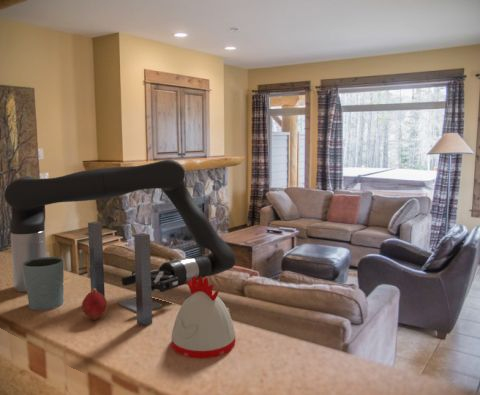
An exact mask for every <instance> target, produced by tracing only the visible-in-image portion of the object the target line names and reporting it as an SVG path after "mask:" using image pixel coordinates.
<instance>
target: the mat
mask: <svg viewBox="0 0 480 395" xmlns="http://www.w3.org/2000/svg"><path fill="white" fill-rule="evenodd" d="M117 304H118V305H119V306H121V307H123V308H126V309H128V310H130V311H132V312H134V313H136V314H137V308H136V296H133V297H130V298H127V299H124V300H121V301H118V302H117ZM160 307H162V304H161V303H159V302H156V301H154V300H152V310H155V309H157V308H160Z"/></svg>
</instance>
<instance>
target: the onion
mask: <svg viewBox="0 0 480 395" xmlns="http://www.w3.org/2000/svg"><path fill="white" fill-rule="evenodd" d="M107 305H108V303H107V298H106V296H105V297H104V296H103V295H102V294H101V293H99V292H97V291H96V289H93V290H92V291H91V290H90V292H88V293H87V295H86V296H85V297H84V299H83V300H82V304H81V306H82V307H81V308H82V312H83V313H84V315H86V316H87V317H88V318H91V319H92V320H93V321H97V320H98V319H99V318H100V317H101V316H102V315H103V314H104V313H105V311H106V310H107Z"/></svg>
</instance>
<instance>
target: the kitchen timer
mask: <svg viewBox="0 0 480 395" xmlns="http://www.w3.org/2000/svg"><path fill="white" fill-rule="evenodd" d="M187 282H188V283H187V285H188V289H189V291H190V294H191V295H190V296H188V297H187V298H186V299H185V300H184V301H183V303H182V305H181V306H180V308H179V311H178V313H177V315H176V316H175V317H176V318H175V320H174V324H173V327H172V330H171V331H172V332H171V333H172V334H171V347H172V349H173V350H174V351H175V352H176V354H179V355H181V356H183V357H187V358H191V359H192V358H194V359H211V358H215V357H220V356H222V355H225V354H227V353H228V352H230V351H232V349H234V347H235V345H236V330H235V326H234V323H233V320H232V319H233V318H232V317H231V313H230V308H229V307H227V306H226V304H225V303H224V302H223V300H222V299H221V298H220V297H219V296H218V294H219V290H216V291H214V293H213V289H214V283H211V284H209V278H208V277H204V278H202V276H201V277H199V279H198V280H197V279H196V276H192V282H191V280H187Z"/></svg>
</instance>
